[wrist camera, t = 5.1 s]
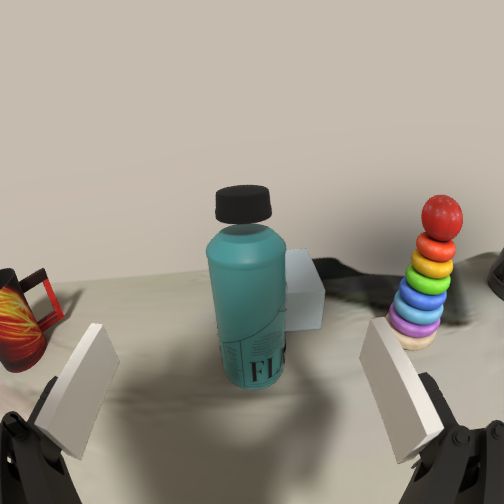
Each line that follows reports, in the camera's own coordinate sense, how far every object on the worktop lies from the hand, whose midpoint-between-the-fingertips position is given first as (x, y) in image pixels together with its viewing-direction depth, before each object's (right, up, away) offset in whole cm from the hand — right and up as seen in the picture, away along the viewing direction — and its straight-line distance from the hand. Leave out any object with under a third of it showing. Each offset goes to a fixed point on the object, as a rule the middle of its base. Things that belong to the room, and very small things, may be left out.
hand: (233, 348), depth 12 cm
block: (+4, -3, +27) cm, 28 cm away
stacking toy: (+22, -6, +19) cm, 30 cm away
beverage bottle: (+1, -9, +16) cm, 18 cm away
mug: (-34, -10, +18) cm, 40 cm away
